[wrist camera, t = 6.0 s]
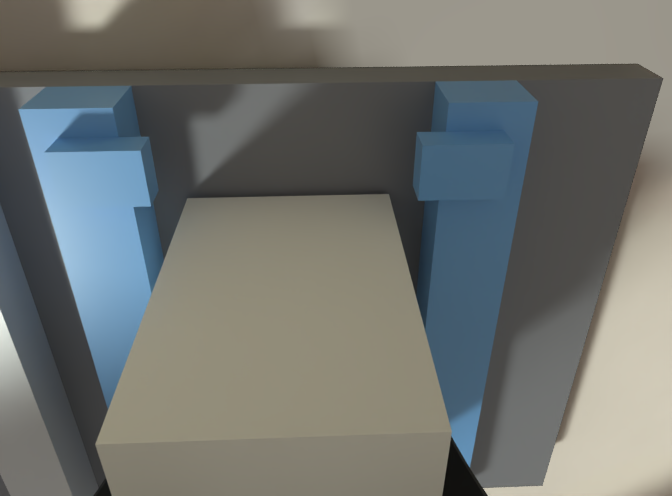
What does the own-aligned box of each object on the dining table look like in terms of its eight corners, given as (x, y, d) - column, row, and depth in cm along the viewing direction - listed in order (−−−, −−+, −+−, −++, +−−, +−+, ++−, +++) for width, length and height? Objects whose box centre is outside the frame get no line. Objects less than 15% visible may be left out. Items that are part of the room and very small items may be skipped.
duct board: (531, 457, 18) (564, 544, 16) (-274, 487, 17) (-366, 583, 15) (637, 63, 12) (720, 111, 9) (-634, 80, 11) (-895, 136, 9)
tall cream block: (376, 432, 15) (411, 702, 10) (223, 438, 15) (182, 714, 10) (388, 194, 12) (452, 432, 7) (187, 198, 12) (94, 444, 7)
